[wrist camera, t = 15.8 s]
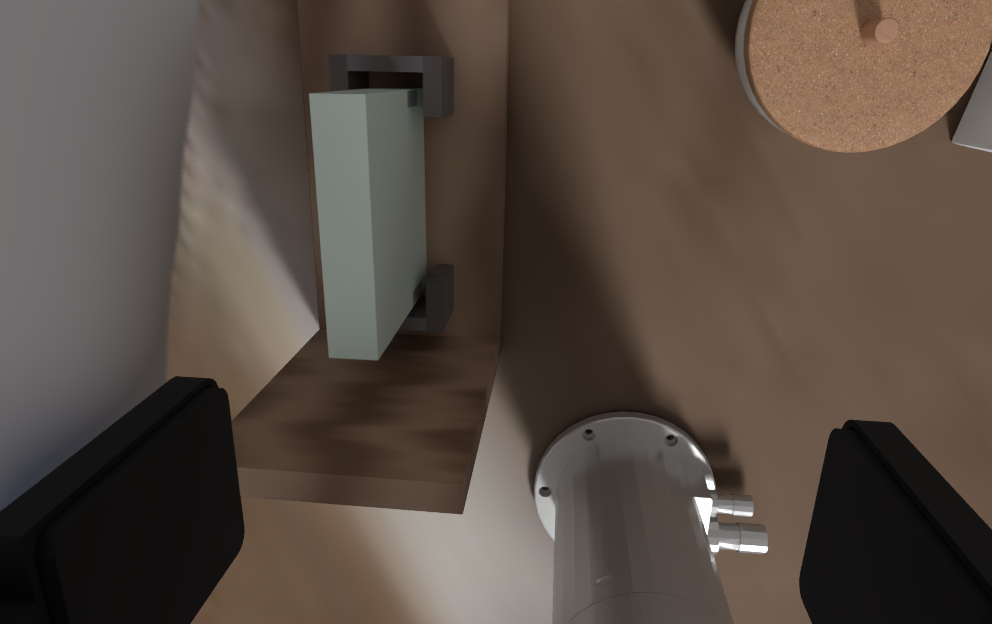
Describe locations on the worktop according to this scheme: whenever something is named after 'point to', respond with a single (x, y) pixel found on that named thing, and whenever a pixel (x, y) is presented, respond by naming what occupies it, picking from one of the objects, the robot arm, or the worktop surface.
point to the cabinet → (449, 287)
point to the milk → (978, 114)
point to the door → (369, 213)
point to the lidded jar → (859, 65)
